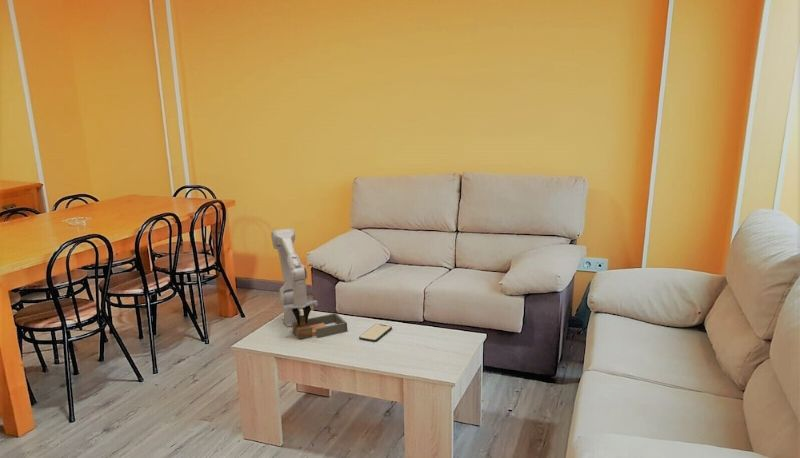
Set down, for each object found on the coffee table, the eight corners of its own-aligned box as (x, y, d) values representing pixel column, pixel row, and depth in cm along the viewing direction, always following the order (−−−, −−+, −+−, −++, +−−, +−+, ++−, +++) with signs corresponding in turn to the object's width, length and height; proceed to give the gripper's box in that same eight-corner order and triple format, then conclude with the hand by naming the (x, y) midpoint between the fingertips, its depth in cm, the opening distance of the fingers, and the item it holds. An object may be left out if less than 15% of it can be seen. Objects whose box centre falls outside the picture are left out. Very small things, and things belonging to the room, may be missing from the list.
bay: (307, 327, 268) (306, 318, 267) (336, 321, 274) (336, 313, 273) (317, 337, 256) (316, 329, 255) (347, 331, 262) (346, 322, 261)
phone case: (375, 344, 249) (393, 329, 263) (375, 340, 249) (393, 326, 263) (357, 340, 253) (375, 326, 267) (357, 337, 253) (375, 323, 267)
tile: (306, 330, 265) (306, 326, 264) (323, 326, 268) (323, 322, 268) (312, 336, 258) (311, 332, 257) (329, 332, 261) (329, 328, 261)
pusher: (292, 330, 263) (292, 313, 262) (305, 328, 266) (305, 312, 264) (298, 338, 255) (298, 321, 253) (312, 336, 257) (311, 319, 256)
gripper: (285, 299, 250) (288, 329, 253) (318, 293, 256) (320, 323, 259) (281, 295, 256) (284, 324, 259) (313, 289, 262) (315, 317, 265)
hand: (302, 323), depth 259 cm, fingers closed on pusher, 2 cm apart
